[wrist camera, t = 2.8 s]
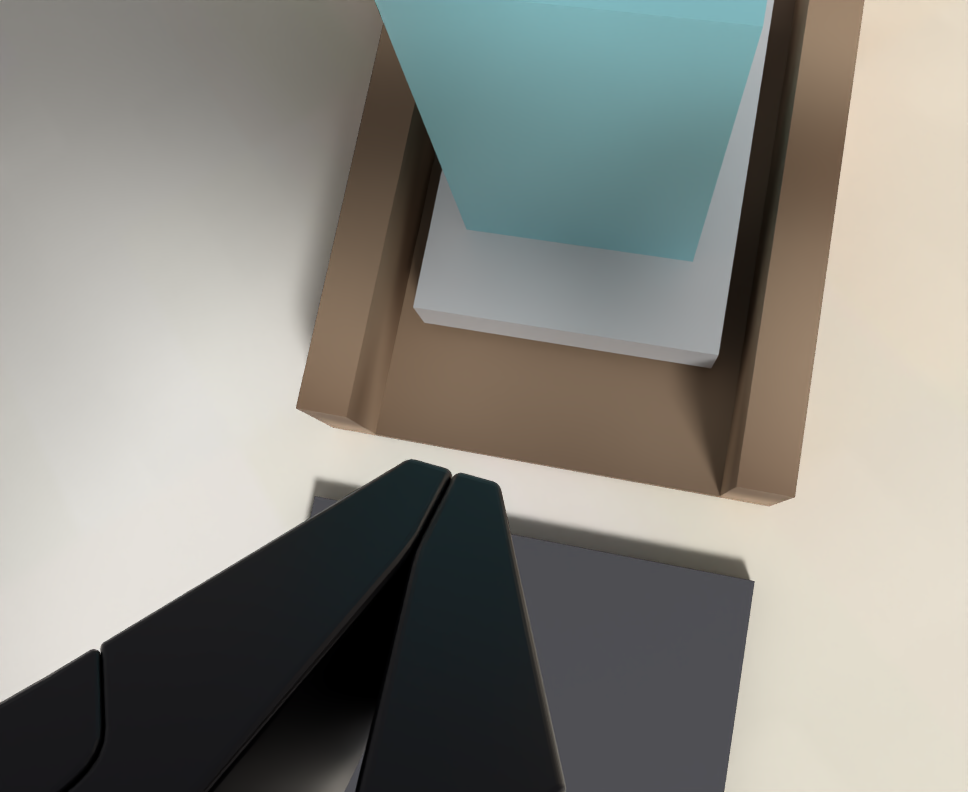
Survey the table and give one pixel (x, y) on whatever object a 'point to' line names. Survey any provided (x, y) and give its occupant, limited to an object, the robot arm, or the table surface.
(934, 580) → the table surface
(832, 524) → the table surface
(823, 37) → the track
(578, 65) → the blue pillar on plinth
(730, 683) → the dark gray rectangular plate
